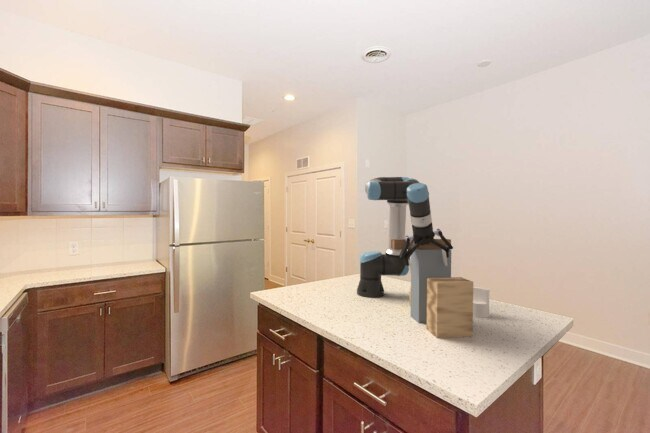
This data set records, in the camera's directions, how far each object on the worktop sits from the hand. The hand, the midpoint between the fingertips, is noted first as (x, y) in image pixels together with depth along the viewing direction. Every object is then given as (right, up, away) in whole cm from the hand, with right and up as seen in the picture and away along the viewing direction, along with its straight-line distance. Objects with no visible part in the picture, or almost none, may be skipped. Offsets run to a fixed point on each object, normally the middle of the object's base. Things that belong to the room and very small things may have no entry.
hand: (427, 268), depth 125 cm
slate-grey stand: (+2, -22, +4) cm, 23 cm away
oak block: (+4, -23, -11) cm, 25 cm away
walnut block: (-2, +8, +3) cm, 9 cm away
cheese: (+3, -23, +16) cm, 28 cm away
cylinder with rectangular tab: (+26, -23, +10) cm, 36 cm away
